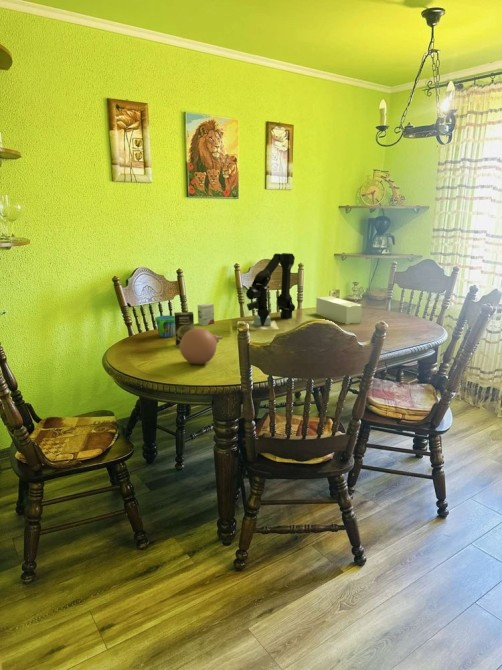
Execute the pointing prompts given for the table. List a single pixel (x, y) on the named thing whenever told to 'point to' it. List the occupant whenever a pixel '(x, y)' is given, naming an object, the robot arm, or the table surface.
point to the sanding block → (258, 322)
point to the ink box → (205, 314)
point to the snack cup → (165, 325)
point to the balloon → (198, 345)
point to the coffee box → (182, 325)
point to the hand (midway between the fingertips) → (261, 324)
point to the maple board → (252, 327)
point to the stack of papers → (339, 309)
